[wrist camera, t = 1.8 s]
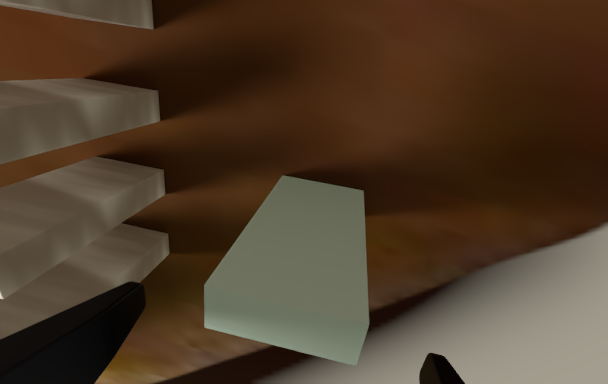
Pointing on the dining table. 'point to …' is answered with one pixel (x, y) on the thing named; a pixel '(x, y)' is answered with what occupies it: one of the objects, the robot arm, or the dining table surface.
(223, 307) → the green domino
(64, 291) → the domino
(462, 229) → the dining table surface
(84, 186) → the domino
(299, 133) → the dining table surface
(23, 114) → the domino
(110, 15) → the domino
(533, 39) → the dining table surface
